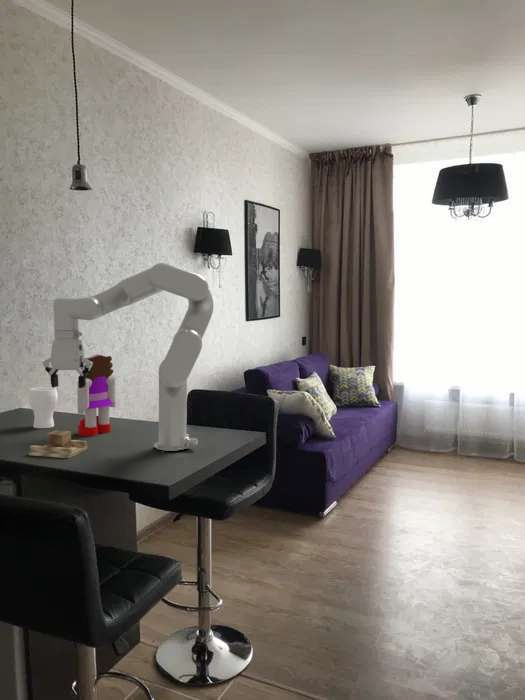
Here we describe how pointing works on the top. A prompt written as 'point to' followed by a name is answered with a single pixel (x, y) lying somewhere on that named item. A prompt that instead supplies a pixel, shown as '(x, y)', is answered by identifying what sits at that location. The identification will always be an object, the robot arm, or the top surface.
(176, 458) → the top surface
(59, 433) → the walnut block
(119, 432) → the top surface
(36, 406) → the cup
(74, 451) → the board
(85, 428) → the toy
